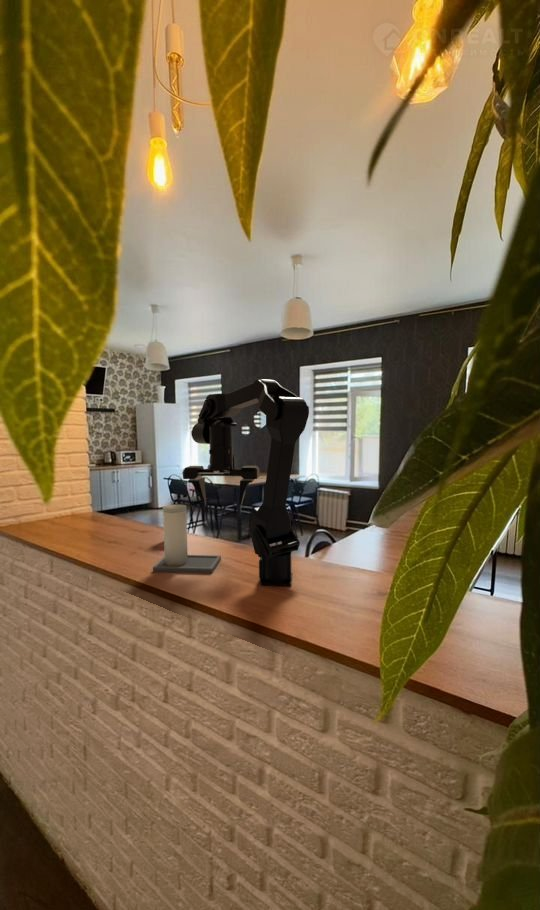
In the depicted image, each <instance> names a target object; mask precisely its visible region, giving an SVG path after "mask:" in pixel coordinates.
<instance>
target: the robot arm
mask: <svg viewBox="0 0 540 910" xmlns="http://www.w3.org/2000/svg"><path fill="white" fill-rule="evenodd" d="M255 404H258V408H259V410H260V411H261V412H262V413H263V414H264V415H265V426H266V428H267V431H268V433H269V436H270V438H271V439H270V446H269V449H270V450H269V455H268V460H267V461H268V462H267V463H268V464H267V471H266V476H265V477H266V478H265V484H264V492H263V499H262V502H261V503H262V504H261V505H260V506H258V507H254V508H252V510H251V519H250V523H249V526H250V538H251V542H252V546H253V551H254V554H255V555H256V556H257V557H258V558H259V560H258V578H259V580H260V585H261V586H287V587H288V586H289V587H291V586H292V583H293V582H292V581H293V572H292V569H293V568H292V567H293V566H292V564H293V563H292V557H293V556H292V553H293V552H295V551H299V548H300V544H301V541H300V540H299V539H298V537H297V535H296V533H295V531H294V530H293V528H292V527H291V523H292V521H291V519H292V518H291V515H290V513H289V511H288V509H287V499H288V492H289V489H290V488H289V487H290V481H291V474H292V467H293V459H294V453H295V447H296V443H297V440H298V439H299V438H300V436H301V435H302V434H303V433H304V431H305V429H306V426H307V423H308V418H309V416H310V406H309V405H308V404H307V402H306V401H305V399H303V398H302V397H299V396H298V395H297V394H296V393H294V392H292V391H290V390H288V389H287V388H285V387H284V386H282V385H281V384H280V383H279V382H277V381H276V380H274V379H265V378H264V379H262V378H258V379H256V380H254V382H252V383H250V384H247V385H244V386H242V387H240V388H237V389H234V390H233V391H230V392H227V393H212V394H208V395H207V396H206V398H205V400H204V401H203V405H202V407H201V410H200V411H199V413H198V418H197V423H195V424H194V425H193V426H192V428H191V432H190V433H191V434H190V435H191V438H192V440H193V441H194V442H195V443H197V444H203V445H209V450H208V454H209V468H204V466H203V465H189V466H186V467H185V468H184V469H182V479H183V480H188V481H187V483H191V484H192V486H193V487H194V489H195V491H196V492H197V495H198V497H199V499H200V501H201V503H202V506H203V507H206V506H207V495H206V494H207V493H206V486H205V482H206V477H241V479H240V480H239V492H238V506H239V507H240V508H241V507H242V505H243V502H244V498H245V495H246V492H247V489H248V487H249V485H250V484H252V483H253V482H254V481H255V480H258V479H259V477H260V476H261V475H260V467H259V466H258V465H243V466H242V467H241V468H237V458H236V456H235V455H234V446H233V427H235V428H236V427H237V426H238V424H237V423H236V421H235V420H233V417H235V416H236V415H238V414H239V413H240V411H241V409H244V408H246V407H249V406H251V405H252V406H253V405H255ZM277 543H278V544H277ZM273 544H275V545H273Z"/></svg>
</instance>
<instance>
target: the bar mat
mask: <svg viewBox="0 0 540 910" xmlns="http://www.w3.org/2000/svg"><path fill="white" fill-rule="evenodd" d="M221 561H222V555H219V554H218V555H213V554H210V555H208V554H207V555H206V554H188V562H187V563H186V564H183V565H180V566H168V565H166V564H165V555H164V556H163V557H162V558H161V559H160V560H159V561H158V562H157V563H156V564H154V565H153V567H152V572H153V573H184V574H186V573H191V574H192V573H193V574H194V573H195V574H196V573H197V574H213V573H214V571H215V570H216V568H217V567H218V565H219V564H220V562H221Z"/></svg>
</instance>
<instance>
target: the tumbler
mask: <svg viewBox="0 0 540 910" xmlns="http://www.w3.org/2000/svg"><path fill="white" fill-rule="evenodd" d="M187 509H188V508H187V505H186V504H169V505H165V506H163V507H162V513H163V514H162V517H163V519H162V520H163V521H162V522H163V524H162V525H163V545H164V546H163V547H164V548H163V549H164V556H165V564H166V565H168V566H180V565H183V564H186V563H187V562H188V555H189V554H188V515H187Z"/></svg>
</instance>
